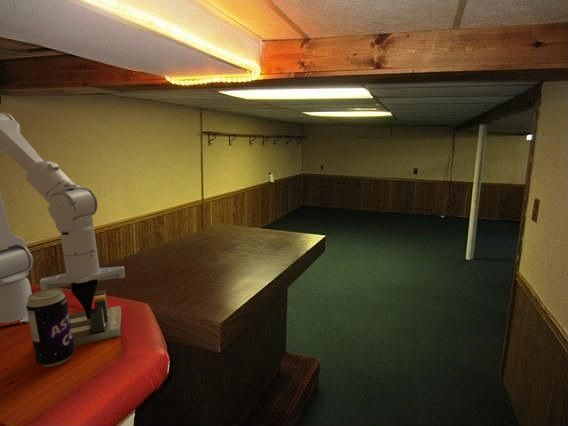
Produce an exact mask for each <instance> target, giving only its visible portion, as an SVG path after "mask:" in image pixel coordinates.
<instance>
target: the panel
mask: <svg viewBox="0 0 568 426" xmlns="http://www.w3.org/2000/svg"><path fill="white" fill-rule="evenodd" d="M104 294H105V297H106V302H107V303H108V300H107V294H106V289H104V290H96V291H95V294H94V297H93V298H95V296H98V295H104ZM121 308H122V307H121V305H117V306H112V307H111V306H110V307H109V306H108V305H107V310H108V319H106V320H104V315H103V308H102V307H101V308H96V309H95V308H92V309H91V311H90V318H91V319H89V320H87V317H86V312H85V311H81V312H76V313H75V312H74V313H69V318H70V324H71V331H72V337H73V343H74V347H75V346H79V345H84V344H89V343H93V342H99V341H103V340H109V339H111V338H116V337H120V336H121V325H122V309H121ZM33 348H34V346H33ZM33 351H34V350H33ZM34 353H35V351H34Z"/></svg>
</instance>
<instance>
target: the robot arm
mask: <svg viewBox="0 0 568 426" xmlns="http://www.w3.org/2000/svg"><path fill="white" fill-rule="evenodd" d="M1 153H5V154H6V155H8V157H9V158H11V159H12V160H13V161H14V162H15V163H16V164H17V165H19V166H20V167H21V168H22V169H24V171H26V176H25V179H26V181H27V183H29V185H30V186H31V187H33V189H34V190H35V191H36V192H37V193H38V194H39V195H40V196H41V197H42V198H43V199H44V200H45V201H46V202H47V203H48V205H49V206H48V207H47V210H48V213H49V215H50V217H51V218H52V219H53V221H54V223H55V229H57V232H59V233H60V235H59V236H60V239H61V246H62V251H63V252H62V254H63V260H64V265H65V266H64V267H65V272H66V273H61V274H57V275H52V276H48V277H42V278H41V279H40V281H39V285H40V291H42V290H46V289H54V288H61V287H68V286H71V290H70V292H71V293H72V295H73V296H74V297H75V298H76V300H78V302H79V303H80V305H81V306H82V308H83V310H84V312H86V317H87V320H89V319H91V318H90V311H91V309H93V303H94V298H95V297H94V294H95V292H97V287H98V284H99V282H100V281H105V280H112V279H122V278H123V279H125V277H126V273H125V267H124V265H121V266H112V267H100V263H99V262H100V261H99V255H98V254H99V253H98V248H97V241H96V234H95V226H94V220H93V216H94V215H95V214H96V212H97V211H98V199H97V197H96V195H95V193H93V191H92V189H91V188H88V187H83V186H82V187H81V186H80V185H79V184H76V183H75V182H74V181H73V180H72V179H70V178H69V176H67V174H66V173H64V171H63V170H62V169H61V168H60V166H59V164H58V163H56V162H54V161H49V160H43V159H42V157H41V155H39V154H38V153H37V151H36V150H35V149H34V148H33V147H32V146H31V145H30V143H29V142H28V140H26V138H25V137H24V136H23V135H22V133H21V125H20V123H19V122H18V121H17V120H15V118H14V116H13V115H11V114H9V113H8V112H0V154H1ZM26 244H27V243H26V241H25V239H24V238H23V237H20V236H17V235H15V234H14V233H12V230H11V227H10V224H9V219H8V215H7V211H6V208H5V204H4V201H3V196H2V193H1V192H0V323H10V322H14V321H17V320H20V322H26V323H29V318H28V313H27V307H26V305H27V302H28V297H29V296H30V295H31V294H33V293H32V288H31V283H30V279H29V278H27V276H29V271H30V270H32V269H33V268H32V267H33V263H34V258H33V255H32V253H31V251H30V250H29V249H28V247H27V245H26ZM21 319H22V320H21Z"/></svg>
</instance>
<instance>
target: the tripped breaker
mask: <svg viewBox="0 0 568 426" xmlns="http://www.w3.org/2000/svg"><path fill="white" fill-rule="evenodd" d="M106 299H107V296H106V297H105V294H104V295H98V296H95V297H93V303H94V309H96V308H101V307H102V308H103V315H104V320H106V319H108V310H107V306H108V301H107V302H106Z"/></svg>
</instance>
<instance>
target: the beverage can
mask: <svg viewBox="0 0 568 426" xmlns="http://www.w3.org/2000/svg"><path fill="white" fill-rule="evenodd" d="M26 307H27V313H28V318H29V322H28V323H29V327H30V334H31V339H32V345H33V346H34V347H33V351H35V352H34V356H35V361H36V363H37V364H39V365H42V366H43V367H46V368H49V367H56V366H59V365H61V364H64V363H65V362H67V361H68V360H70V358H71V356H72V355H73V354H74V352H75V346H74V343H73V337H72V331H71V324H70V318H69V314H70V313H69V306H68V300H67V296H66V295H65V294H64V292H63V289H61V288H59V287H57V288H51V289H46V290H42V291H41V290H39V291H36V292H34V293H32V294H31V295H30V296H29V297H28V302H27V305H26Z"/></svg>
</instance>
